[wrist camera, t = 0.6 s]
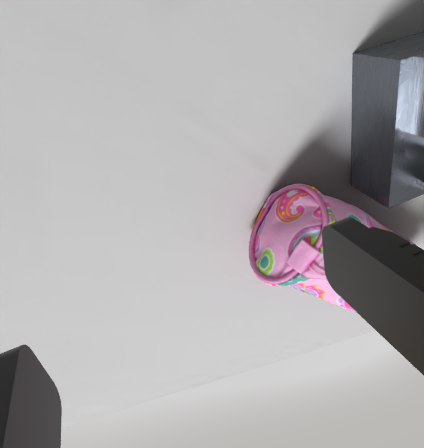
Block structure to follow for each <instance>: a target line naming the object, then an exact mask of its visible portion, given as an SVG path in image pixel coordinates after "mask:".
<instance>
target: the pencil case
mask: <svg viewBox="0 0 424 448" xmlns="http://www.w3.org/2000/svg"><path fill="white" fill-rule="evenodd" d="M347 217H352V218H354V219H356V220H357V221H359V222H360V223H362V224H364V225H365V226H367V227H368V228H371V227H376V228H380V229H383V230H387V231H390V232H394V231H392V230H390V229H388V228H387V227H385V226H384V225H382V224H381V223H379V222H378V221H377V220H375V219H374V218H372V217H371V216H370V215H368V214H367V213H366V212H364V211H363V210H361V209H360V208H358V207H356V206H354V205H351V204H349V203H346V202H344V201H341V200H339V199H336V198H333V197H330V196H326V195H323V194H322V193H321V192H320V191H319V190H318V189H316V188H315V187H312V186H310V185H306V184H293V185H289V186H286V187H284V188H282V189H280V190H278V191H277V192H275V193H273V194H272V195H270V196H269V197H268V199H267V201H266V203H265V204H264V206H263V208H262V210H261V212H260V214H259V216H258V218H257V220H256V223H255V225H254V227H253V230H252V233H251V238H250V243H249V260H250V264H251V267H252V269H253V271H254V273H255V275H256V276H257V277H258V278H259V279H260V280H261V281H262V282H264V283H266V284H268V285H272V286H290V287H293V288H296V289H299V290H301V291H303V292H306V293H308V294H310V295H313V296H316V297H319V298H321V299H324V300H326V301H328V302H330V303H332V304H335V305H337V306H339V307H342V308H344V309H347V310H350V311H353V312H356V311H355V310H354V309H353V308H352V307H351V306H350V305H349V304H348V303H347V302H345V301H344V300H343V299H342V298H341V297H340V296H339V295H338V294H337V293H336V292H335V291H334V290H333V289H332V287H331V286H330V284H329V282H328V280H327V278H326V275H325V270H324V258H323V245H322V229H323V227H324V226H327V225H329V224H332V223H334V222H337V221H339V220H342V219H344V218H347ZM394 233H395V232H394ZM396 234H397V233H396ZM397 235H399V234H397ZM399 236H400V235H399ZM401 237H402V236H401ZM402 238H404V237H402ZM404 239H405V238H404ZM406 240H407V239H406ZM407 241H409V240H407ZM409 242H410V244H411V245H412V244H414V243H412V242H411V241H409ZM414 245H415V244H414ZM356 313H357V312H356Z"/></svg>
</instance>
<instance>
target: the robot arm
mask: <svg viewBox="0 0 424 448" xmlns="http://www.w3.org/2000/svg"><path fill="white" fill-rule="evenodd" d="M322 245H323V258H324V270H325V275H326V278H327V280H328V282H329V284H330V286H331V287H332V289H333V290H334V291H335V292H336V293H337V294H338V295H339V296H340V297H341V298H342V299H343V300H344V301H345V302H347V303H348V304H349V305H350V306H351V307H352V308H353V309H354V310H355V311H356V312H357V313H358V314H359V315H360V316H361V317H362V318H364V319H365V320H366V321H367V322H368V323H369V324H370V325H371V326H372V327H373V328H374V329H375V330H376V331H377V332H378V333H379V334H380V335H382V336H383V337H384V338H385V339H386V340H387V341H388V342H389V343H390V344H391V345H392V346H393V347H394V348H395V349H396V350H397V351H399V352H400V353H401V354H402V355H403V356H404V357H405V358H406V359H407V360H408V361H409V362H410V363H411V364H412V365H413V366H414V367H415V368H417V369H418V370H419V371H420V372H421V373H422V374H423V375H424V250H423V249H421V248H419V247H418V246H416V245H414V244H412V245H411V244H410V242H409V241H407V240H406V239H404V238H402V237H401V236H399V235H397V234H396V233H394V232H390V231H387V230H383V229H380V228H376V227H371V228H368V227H367V226H365V225H364V224H362V223H360V222H359V221H357V220H356V219H354V218H352V217H347V218H344V219H342V220H339V221H337V222H334V223H332V224H329V225H327V226H324V227H323V229H322ZM60 442H61V400H60V396H59V393H58V390H57V388H56V386H55V384H54V382H53V381H52V379H51V378H50V376H49V375H48V373H47V372H46V370H45V369H44V368H43V366H42V365H41V363H40V362H39V360H38V359H37V357H36V356H35V354H34V353H33V351H32V350H31V349H30V348H29V347H28V346H27V345H21V346H19V347H16V348H14V349H11V350H9V351H6V352H4V353H1V354H0V448H60V445H61V443H60Z"/></svg>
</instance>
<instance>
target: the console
mask: <svg viewBox="0 0 424 448" xmlns="http://www.w3.org/2000/svg"><path fill="white" fill-rule="evenodd" d="M351 186H352V187H354V188H356V189H357V190H359V191H361V192H362V193H364V194H366V195H367V196H369V197H371V198H372V199H374V200H376V201H377V202H379V203H381V204H382V205H384V206H386V207H387V208H390V207H393V206H395V205H398V204H400V203H403V202H405V201H408V200H410V199H412V198H415V197H417V196H420V195H422V194H424V32H421V33H418V34H415V35H411V36H408V37H405V38H402V39H399V40H395V41H392V42H389V43H386V44H382V45H379V46H376V47H373V48H369V49H366V50H363V51H360V52H356V53H353V79H352V150H351Z"/></svg>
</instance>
